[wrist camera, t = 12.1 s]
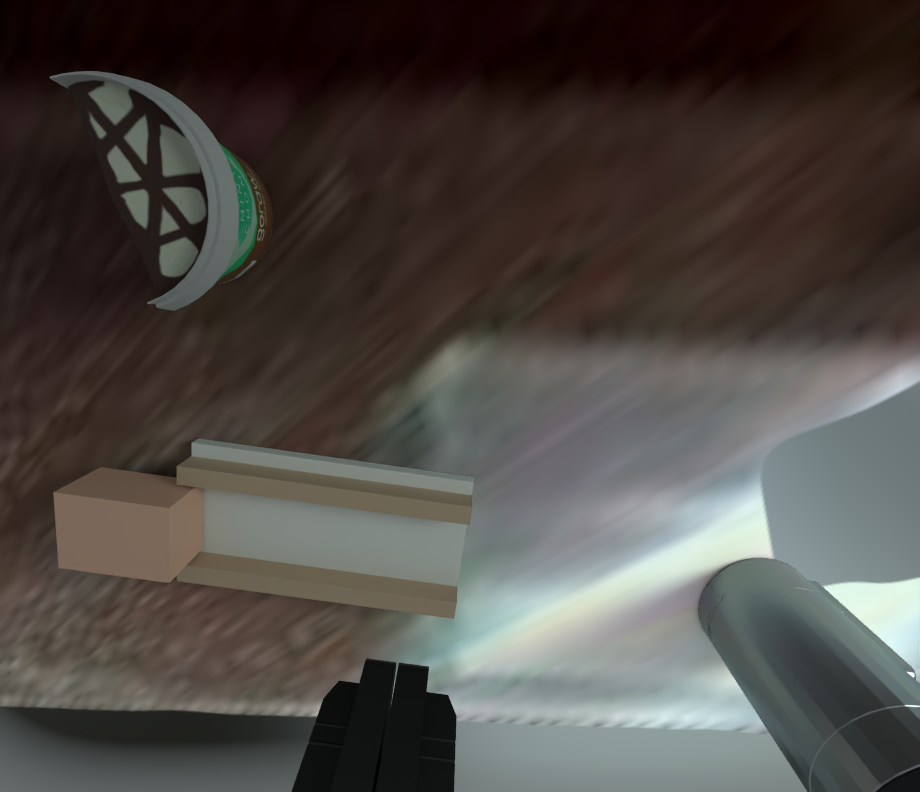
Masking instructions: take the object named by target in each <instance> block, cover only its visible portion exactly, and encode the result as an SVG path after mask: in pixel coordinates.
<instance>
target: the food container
mask: <svg viewBox="0 0 920 792" xmlns="http://www.w3.org/2000/svg"><path fill="white" fill-rule="evenodd" d="M50 79H52V80H54V81H55V82H57V83H59V84H61V85H62V86H64V87H66V88H68V89H69V90H70V93H71V95H72V98H73V101H74V104H75V106H76V107H77V109H78V111H79V113H80V115H81V117H82V119H83V121H84V124H85V126H86V128H87V131H88V133H89V136H90V138H91V141H92V143H93V146H94V148H95V151H96V154H97V157H98V160H99V163H100V166H101V169H102V173H103V176H104V179H105V181H106V184H107V187H108V190H109V193H110V195H111V198H112V200H113V202H114V204H115V206H116V208H117V210H118V212H119V214H120V216H121V218H122V220H123V221H124V223H125V225H126V227H127V229H128V231H129V233H130V235H131V237H132V239H133V241H134V243H135V245H136V247H137V249H138V251H139V254H140V256H141V258H142V261H143V263H144V265H145V268H146V270H147V272H148V275H149V277H150V279H151V282H152V284H153V287H154V289H155V291H156V294H157V296H158V298H157V299H154V300H152V301H150V302H147V303H148V304H156V306H157V308H161V309H167V310H173V311H174V310H177V309H179V308H181V307H184V306H186V305H188V304H190V303H192V302H193V301H195V300H196V299H198V298H200V297H201V296H202V295H203V294H204V293H206V292H207V291H208V290H209V289H210V288H211V287H213V286H216V285H220V284H223V283H227V282H230V281H232V280H235V279H237V278H239V277H242V276H244V275H245V274H246V273H247V272H248V271H250V270H251V269H252V268H253V267H254V266H256V265H257V264H258V263H259V261H260V260H261V258H262V256H263V255H264V253H265V251H266V249H267V248H268V246H269V243H270V238H271V233H272V228H273V215H272V206H271V202H270V198H269V195H268V193H267V191H266V188H265V186H264V184H263V183H262V181H261V179H260V178H259V176H258V175H257V174H256V172H255V171H254V170H253V169H252V168H251V167H250V166H249V165H248V164H247V163H246V162H245V161H244V160H242V159H241V158H240V157H238V156H237V155H236V154H234V153H233V152H231V151H230V150H228V149H227V148H226V147H224V146H223V145H221V144H220V143H218V142H217V140H216V138H215V137H214V135H213V134H212V132H211V131H210V130H209V129H208V127H207V126H206V125H205V124H204V123H203V121H202V120H201V119H200V118H199V117H198V116H197V115H196V114H195V113H194V112H193V111H192V110H191V109H190V108H188V107H187V106H186V105H185V104H184V103H183V102H181V101H180V100H178V99H177V98H175V97H174V96H172V95H171V94H169V93H168V92H166V91H164V90H162V89H160V88H158V87H156V86H154V85H152V84H149V83H147V82H143V81H140V80H136V79H133V78H129V77H125V76H121V75H116V74H112V73H104V72H96V71H85V72H73V73H63V74H59V75H55V76H51V77H50Z"/></svg>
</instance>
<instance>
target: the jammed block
mask: <svg viewBox="0 0 920 792" xmlns="http://www.w3.org/2000/svg"><path fill="white" fill-rule="evenodd" d="M53 494H54V508H55V522H56V536H57V550H58V565H59V568H63V569H70V570H77V571H85V572H92V573H99V574H107V575H114V576H122V577H129V578H136V579H144V580H151V581H158V582H166V583H170V582H171V581H172V580H173V579H174V578H175V577H176V576H177V575H178V574H179V573H180V571H181V570H182V569H183V568H184V567H185V566H186V565H187V564H188V563H189V562H190V561H191V560H192V559H193V558H194V557H195V556H196V555H197V554H198V553H199V552H200V551H201V550H202V524H203V488H198V487H191V486H184V485H177V478H175V477H168V476H161V475H154V474H147V473H139V472H132V471H125V470H118V469H111V468H103V467H100V468H98V469H96V470H94V471H92V472H91V473H89V474H87V475H85V476H83V477H81V478H79V479H77V480H76V481H74V482H72V483H70V484H68V485H66V486H64V487H62V488H61V489H59V490H57V491H55V492H53Z"/></svg>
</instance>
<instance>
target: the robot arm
mask: <svg viewBox="0 0 920 792" xmlns="http://www.w3.org/2000/svg"><path fill="white" fill-rule="evenodd" d="M699 620H700V623H701V626H702V628H703V630H704V631H705V633H706V635H707V636H708V638H709V639H710V641H711V642H712V644H713V646H714V647H715V649H716V650H717V652H718V653H719V655H720V656H721V658H722V660H723V661H724V663H725V664H726V666H727V668H728V669H729V671H730V672H731V674H732V676H733V677H734V679H735V680H736V682H737V683H738V685H739V686H740V688H741V689H742V691H743V693H744V694H745V696H746V697H747V699H748V700H749V702H750V703H751V705H752V707H753V708H754V710H755V711H756V713H757V714H758V716H759V717H760V719H761V720H762V722H763V724H764V725H765V727H766V728H767V730H768V731H769V733H770V734H771V736H772V737H773V739H774V741H775V742H776V744H777V745H778V747H779V748H780V750H781V751H782V753H783V754H784V756H785V757H786V759H787V761H788V762H789V763H790V765H791V767H792V768H793V770H794V771H795V773H796V775H797V776H798V778H799V779H800V781H801V782H802V784H803V785H804V787H805V789H806V790H807V792H920V683H919V682H917V681H916V673H915V671H914V669H913V668H912V667H911V666H910V665H909V664H908V663H907V662H906V661H904V660H903V659H902V658H901V657H900V656H899V655H898V654H897V653H896V652H894V651H893V650H892V649H891V648H890V647H889V646H888V645H887V644H886V643H884V642H883V641H882V640H881V639H880V638H879V637H878V636H877V635H876V634H874V633H873V632H872V631H871V630H870V629H869V628H868V627H867V626H866V625H864V624H863V623H862V622H861V621H860V620H859V619H858V618H857V617H856V616H854V615H853V614H852V613H851V612H850V611H849V610H848V609H847V608H846V607H844V606H843V605H842V604H841V603H840V602H839V601H838V600H837V599H836V598H834V597H833V596H832V595H831V594H830V593H829V592H828V591H827V590H826V589H824V588H823V587H822V586H821V585H820V584H819V583H818V582H815V581H809V580H807V579H806V578H805V577H804V576H803V575H801V574H800V573H799V572H798V571H797V570H796V569H795V568H793V567H791V566H790V565H788V564H786V563H783V562H781V561H778V560H774V559H767V558H756V559H749V560H745V561H741V562H738V563H736V564H733V565H731V566H729V567H727V568H726V569H724V570H723V571H721V572H720V573H718V574H717V575H716V576H715V577H714V578H713V579H712V580H711V581H710V583H709V584H708V585H707V587H706V588H705V590H704V592H703V594H702V597H701V599H700V604H699ZM428 671H429V667H427V666H420V665H412V664H405V663H399V666H398V671H397V676H396V682H395V687H394V680H395V672H396V662H389V661H381V660H374V659H366V661H365V664H364V668H363V672H362V676H361V679H360V683H352V682H345V681H338V683H337V684H336V685H335V686H334V687H333V688H332V689H331V691H330V692H329V693H328V694H327V695H326V696H325V698H324V699H323V702H322V705H321V707H320V710H319V713H318V716H317V719H316V723H315V726H314V728H313V731H312V734H311V737H310V740H309V744H308V745H307V748H306V751H305V754H304V757H303V760H302V763H301V766H300V769H299V772H298V774H297V778H296V780H295V783H294V786H293V789H292V792H454V773H455V764H454V763H455V740H456V714H455V711H454V709H453V706H452V704H451V701H450V699H449V696H448V695H444V694H436V693H429V692H426V690H427V681H428ZM393 687H394V693H393ZM392 695H393V698H392ZM391 702H392V704H391Z"/></svg>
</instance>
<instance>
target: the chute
mask: <svg viewBox="0 0 920 792" xmlns="http://www.w3.org/2000/svg"><path fill="white" fill-rule="evenodd" d="M177 485H184V486H191V487H198V488H203V524H202V550H201V551H200V552H199V553H198V554H197V555H196V556H195V557H194V558H193V559H192V560H191V561H190V562H189V563H188V564H187V565H186V566H185V567H184V568H183V569H182V570H181V571H180V573H179V574H178V575H177V581H180V582H188V583H195V584H203V585H210V586H217V587H225V588H232V589H239V590H247V591H254V592H261V593H269V594H276V595H284V596H291V597H298V598H306V599H313V600H320V601H328V602H335V603H342V604H350V605H357V606H365V607H372V608H379V609H387V610H394V611H401V612H409V613H416V614H423V615H431V616H438V617H446V618H453V619H454V615H455V609H456V603H457V585H458V579H459V573H460V566H461V560H462V554H463V548H464V541H465V535H466V529H467V525H469V523H470V517H471V510H472V492H473V486H474V477H470V476H463V475H455V474H448V473H441V472H434V471H427V470H420V469H413V468H405V467H398V466H391V465H384V464H377V463H370V462H363V461H356V460H348V459H341V458H334V457H327V456H320V455H313V454H306V453H298V452H291V451H284V450H277V449H270V448H263V447H256V446H249V445H241V444H234V443H227V442H220V441H213V440H206V439H197V440H195V441H194V442H192V456H191V457H189V458H188V459H186V460H185V461H183V462H182V463H180V464H179V465H177Z"/></svg>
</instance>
